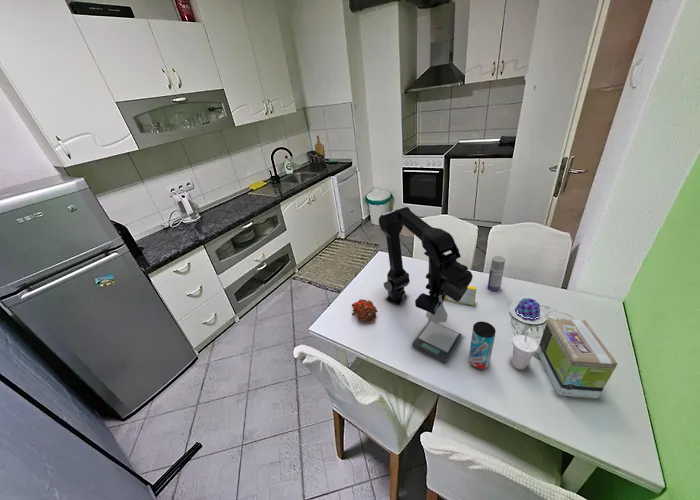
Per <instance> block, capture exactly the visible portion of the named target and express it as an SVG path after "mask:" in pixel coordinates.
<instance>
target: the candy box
mask: <svg viewBox="0 0 700 500" xmlns="http://www.w3.org/2000/svg"><path fill="white" fill-rule="evenodd" d="M476 295H477V286H474V285H473V286H472V285H468V288H467V291H466V292H465V294H464V295H463V296H462V298H461V299H460V301H459V302H456V301H454V300H453V299H452V298H450V297H449V296H447V295H446V296H445V299H444V301H449V302H452V303H458V304H462V305H466V306H467V305H468V306H472V307H475V303H476Z"/></svg>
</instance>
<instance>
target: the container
mask: <svg viewBox="0 0 700 500" xmlns="http://www.w3.org/2000/svg"><path fill="white" fill-rule="evenodd" d="M505 264H506V259H505V257H503V256H502V255H501V256H500V255H495V256H493V257H492V258H491V263H490V269H489V275H488V280H487V290H488V291H489V292H491V293H500V291H501V285H502V281H503V276H504V270H505Z"/></svg>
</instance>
